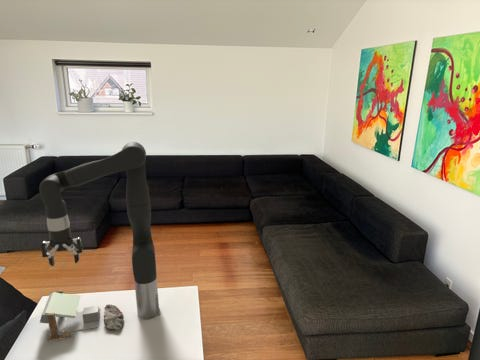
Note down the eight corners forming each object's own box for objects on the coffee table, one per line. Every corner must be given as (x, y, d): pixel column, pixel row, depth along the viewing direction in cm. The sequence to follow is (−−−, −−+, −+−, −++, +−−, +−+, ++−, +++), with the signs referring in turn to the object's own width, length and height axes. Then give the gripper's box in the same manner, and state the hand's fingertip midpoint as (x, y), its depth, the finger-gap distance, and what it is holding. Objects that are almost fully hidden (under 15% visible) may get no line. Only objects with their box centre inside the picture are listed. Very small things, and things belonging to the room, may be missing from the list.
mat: (100, 309, 154) (100, 308, 154) (97, 327, 143) (97, 326, 143) (68, 314, 151) (68, 313, 151) (63, 333, 140) (63, 332, 140)
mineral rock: (123, 331, 141) (122, 322, 140) (103, 335, 139) (101, 325, 138) (124, 309, 155) (123, 300, 154) (105, 312, 153) (104, 303, 152)
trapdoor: (78, 304, 151) (80, 295, 151) (72, 325, 138) (75, 315, 138) (48, 301, 147) (50, 291, 146) (39, 322, 134) (42, 312, 134)
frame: (77, 309, 154) (73, 287, 151) (69, 337, 137) (65, 313, 134) (57, 312, 152) (53, 290, 149) (47, 341, 135) (43, 316, 132)
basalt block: (83, 323, 145) (99, 321, 146) (82, 314, 143) (97, 312, 145) (85, 316, 149) (100, 314, 150) (83, 307, 148) (98, 305, 149)
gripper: (35, 232, 128) (42, 271, 133) (77, 228, 132) (82, 265, 136) (40, 224, 135) (47, 261, 140) (80, 220, 139) (85, 256, 143)
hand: (65, 263), depth 138 cm, fingers open, 8 cm apart
